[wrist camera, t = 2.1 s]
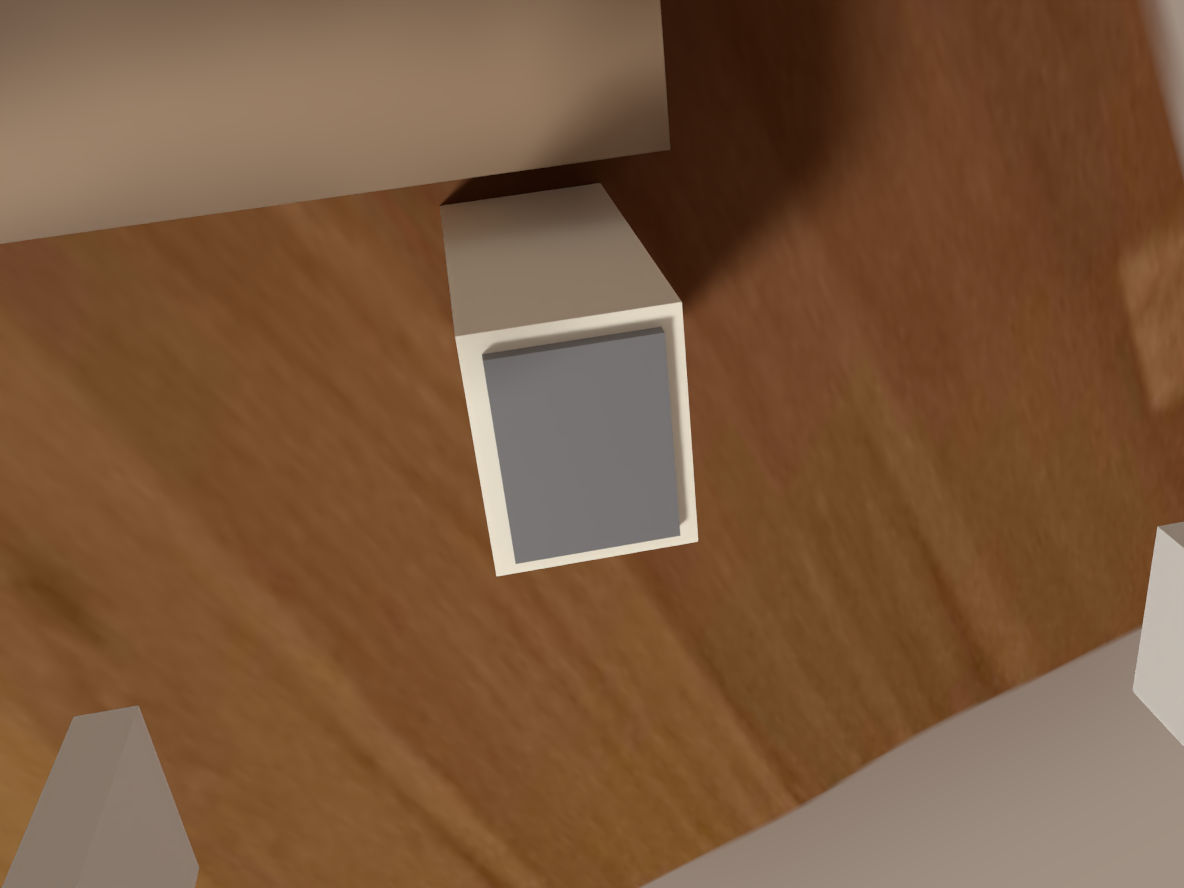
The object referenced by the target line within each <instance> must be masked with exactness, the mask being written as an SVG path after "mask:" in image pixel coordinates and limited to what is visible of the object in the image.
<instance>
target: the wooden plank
mask: <svg viewBox="0 0 1184 888" xmlns="http://www.w3.org/2000/svg"><path fill="white" fill-rule="evenodd" d="M666 150H671V149H670V135H669V120H668V106H667V92H666V77H665V63H664V48H663V34H662V19H661V5H660V0H0V244H2V243H9V242H16V241H23V240H30V239H37V238H45V237H52V236H59V235H66V234H73V233H80V232H87V231H95V230H102V229H109V228H116V227H123V226H130V225H137V224H144V223H152V222H159V221H166V220H173V219H180V218H187V217H194V216H202V215H209V214H216V213H223V212H230V211H237V210H244V209H252V208H259V207H266V206H273V205H280V204H287V203H294V202H302V201H309V200H316V199H323V198H330V197H337V196H344V195H352V194H359V193H366V192H373V191H380V190H387V189H394V188H401V187H409V186H416V185H423V184H430V183H437V182H444V181H451V180H459V179H466V178H473V177H480V176H487V175H494V174H501V173H509V172H516V171H523V170H530V169H537V168H544V167H551V166H559V165H566V164H573V163H580V162H587V161H594V160H601V159H609V158H616V157H623V156H630V155H637V154H644V153H651V152H659V151H666Z"/></svg>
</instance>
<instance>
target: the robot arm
mask: <svg viewBox="0 0 1184 888" xmlns="http://www.w3.org/2000/svg"><path fill="white" fill-rule="evenodd" d="M1133 692H1134V693H1135V694H1136V695H1137V697H1138V698H1139V699H1140V700H1141V701H1142V702H1143V703H1144V704H1145V705H1146V706H1147V707H1148V708H1149V709H1150V711H1151V712H1152V713H1153V714H1154V715H1155V716H1156V717H1157V718H1158V719H1159V720H1160V721H1161V722H1162V724H1163V725H1164V726H1165V727H1166V728H1167V729H1168V730H1169V731H1170V732H1171V733H1172V734H1173V736H1174V737H1175V738H1176V739H1177V740H1178V741H1179V742H1180V743H1181V744H1182V745H1183V746H1184V522H1180V523H1174V524H1168V525H1163V526H1158V527H1157V534H1156V540H1155V547H1154V554H1153V560H1152V567H1151V573H1150V580H1149V586H1148V593H1147V600H1146V606H1145V613H1144V619H1143V626H1142V632H1141V639H1140V646H1139V652H1138V659H1137V666H1136V672H1135V678H1134V685H1133ZM198 870H199V866H198V863H197V861H196V858H195V855H194V853H193V850H192V847H191V845H190V842H189V839H188V837H187V834H186V831H185V829H184V826H183V823H182V821H181V818H180V815H179V813H178V810H177V807H176V805H175V802H174V799H173V797H172V794H171V791H170V789H169V786H168V783H167V781H166V778H165V775H164V773H163V770H162V767H161V765H160V762H159V759H158V757H157V754H156V751H155V748H154V746H153V743H152V740H151V738H150V735H149V732H148V730H147V727H146V724H145V722H144V719H143V716H142V714H141V711H140V708H139V706H133V707H127V708H121V709H116V710H110V711H104V712H99V713H93V714H87V715H82V716H76V717H73V719H72V722H71V724H70V727H69V729H68V731H67V734H66V736H65V739H64V741H63V743H62V746H61V748H60V750H59V753H58V755H57V758H56V760H55V762H54V765H53V767H52V770H51V772H50V774H49V777H48V779H47V781H46V784H45V786H44V789H43V791H42V793H41V796H40V798H39V801H38V803H37V805H36V808H35V810H34V812H33V815H32V817H31V820H30V822H29V824H28V827H27V829H26V832H25V834H24V836H23V839H22V841H21V843H20V846H19V848H18V851H17V853H16V855H15V858H14V860H13V863H12V865H11V867H10V870H9V872H8V874H7V877H6V879H5V882H4V884H3V886H2V888H195V884H196V879H197V875H198Z"/></svg>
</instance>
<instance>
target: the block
mask: <svg viewBox="0 0 1184 888" xmlns="http://www.w3.org/2000/svg"><path fill="white" fill-rule="evenodd" d="M440 212H441V220H442V229H443V237H444V246H445V254H446V263H447V271H448V280H449V288H450V297H451V305H452V314H453V322H454V331H455V338H456V344H457V350H458V356H459V362H460V367H461V373H462V379H463V385H464V391H465V396H466V402H467V408H468V414H469V419H470V425H471V431H472V437H473V443H474V448H475V454H476V460H477V466H478V472H479V477H480V483H481V489H482V495H483V501H484V506H485V512H486V518H487V524H488V530H489V535H490V541H491V547H492V553H493V559H494V564H495V570H496V576H502V575H508V574H513V573H519V572H525V571H531V570H536V569H542V568H548V567H554V566H560V565H565V564H571V563H577V562H583V561H588V560H594V559H600V558H606V557H612V556H617V555H623V554H629V553H635V552H640V551H646V550H652V549H658V548H664V547H669V546H675V545H681V544H687V543H692V542H698V531H697V516H696V502H695V487H694V473H693V458H692V443H691V429H690V414H689V400H688V385H687V370H686V356H685V341H684V326H683V312H682V301H681V300H680V299H679V297H678V296H677V294H676V293H675V291H674V290H673V288H672V287H671V285H670V284H669V283H668V281H667V280H666V278H665V277H664V275H663V274H662V272H661V271H660V269H659V268H658V267H657V265H656V264H655V262H654V261H653V259H652V258H651V256H650V255H649V253H648V252H647V251H646V249H645V248H644V246H643V245H642V243H641V242H640V240H639V239H638V237H637V236H636V234H635V233H634V232H633V230H632V229H631V227H630V226H629V224H628V223H627V221H626V220H625V218H624V217H623V216H622V214H621V213H620V211H619V210H618V208H617V207H616V205H615V204H614V202H613V201H612V200H611V198H610V197H609V195H608V194H607V192H606V191H605V189H604V188H603V186H602V185H601V184H600V183H596V184H589V185H582V186H575V187H568V188H561V189H554V190H547V191H540V192H533V193H526V194H519V195H512V196H505V197H498V198H491V199H484V200H477V201H470V202H463V203H455V204H448V205H441V206H440Z"/></svg>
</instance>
